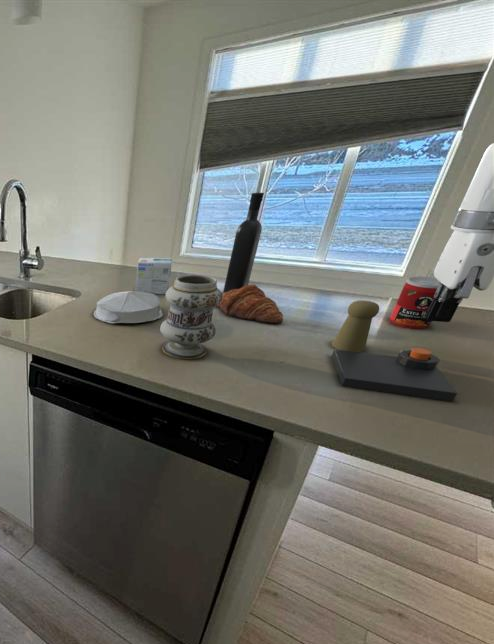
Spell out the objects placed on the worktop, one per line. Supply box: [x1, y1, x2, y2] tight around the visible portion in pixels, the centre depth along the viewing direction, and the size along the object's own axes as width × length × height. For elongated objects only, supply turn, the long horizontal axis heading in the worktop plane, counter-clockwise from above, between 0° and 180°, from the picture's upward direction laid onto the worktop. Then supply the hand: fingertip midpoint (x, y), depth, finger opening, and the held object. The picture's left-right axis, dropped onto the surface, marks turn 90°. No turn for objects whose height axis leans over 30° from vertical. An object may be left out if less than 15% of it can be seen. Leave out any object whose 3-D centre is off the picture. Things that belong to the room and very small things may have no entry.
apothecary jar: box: [159, 274, 222, 360], centre depth 96 cm, size 12×12×18 cm
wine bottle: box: [222, 192, 265, 293], centre depth 123 cm, size 6×6×30 cm
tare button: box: [409, 347, 432, 360], centre depth 82 cm, size 3×3×2 cm
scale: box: [331, 348, 458, 403], centre depth 82 cm, size 16×14×4 cm
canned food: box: [389, 276, 439, 330], centre depth 100 cm, size 8×8×11 cm
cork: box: [331, 299, 380, 353], centre depth 92 cm, size 6×6×11 cm
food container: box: [93, 290, 163, 324], centre depth 122 cm, size 20×20×7 cm
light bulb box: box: [134, 257, 173, 295], centre depth 137 cm, size 11×7×11 cm, turn 66°
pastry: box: [215, 284, 284, 325], centre depth 115 cm, size 17×15×8 cm
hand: (436, 319), depth 79 cm, fingers closed
